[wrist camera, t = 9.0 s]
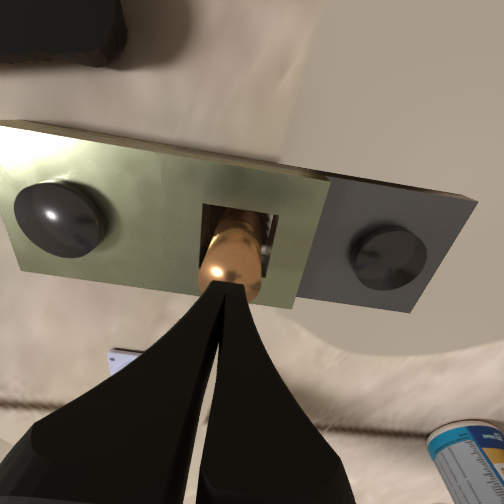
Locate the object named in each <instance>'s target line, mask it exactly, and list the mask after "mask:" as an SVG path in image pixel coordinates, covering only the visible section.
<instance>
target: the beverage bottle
mask: <svg viewBox="0 0 504 504" xmlns="http://www.w3.org/2000/svg"><path fill="white" fill-rule="evenodd" d="M426 446H427V450H428V452H429V454H430V456H431V458H432V459H433V461H434V463H435V465H436V467H437V469H438V471H439V473H440V475H441V477H442V479H443V481H444V483H445V485H446V487H447V489H448V491H449V493H450V495H451V497H452V499H453V501H454V503H455V504H504V435H503V434H502V433H501V431H500V430H499V429H498V428H496V427H495V426H493V425H491V424H489V423H486V422H482V421H460V422H455V423H451V424H448V425H445V426H442V427H440V428H438V429H437V430H435V431H434V432H433V433H431V434H430V436H429V437H428V439H427V442H426Z"/></svg>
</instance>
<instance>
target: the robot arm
mask: <svg viewBox="0 0 504 504" xmlns="http://www.w3.org/2000/svg"><path fill="white" fill-rule="evenodd" d="M218 344H219V351H218V363H217V376H216V383H215V388H214V394H213V399H212V405H211V410H210V416H209V421H208V427H207V432H206V438H205V443H204V448H203V454H202V459H201V464H200V471H199V479H198V487H197V496H196V504H356V502H355V499H354V495H353V492H352V489H351V486H350V483H349V480H348V477H347V474H346V472H345V469H344V466H343V464H342V461H341V459H340V457H339V456H338V455H337V454H336V452H335V451H334V450H333V449H332V448H331V446H330V445H329V444H328V443H327V441H326V440H325V439H324V438H323V436H322V435H321V434H320V433H319V431H318V430H317V429H316V427H315V426H314V425H313V424H312V422H311V421H310V419H309V418H308V417H307V415H306V414H305V413H304V411H303V410H302V408H301V407H300V406H299V404H298V403H297V401H296V400H295V398H294V397H293V395H292V394H291V392H290V391H289V389H288V388H287V386H286V384H285V383H284V381H283V380H282V378H281V377H280V375H279V373H278V371H277V370H276V368H275V366H274V365H273V363H272V361H271V359H270V357H269V355H268V353H267V351H266V349H265V347H264V345H263V343H262V341H261V338H260V336H259V334H258V331H257V329H256V326H255V324H254V321H253V318H252V315H251V312H250V309H249V305H248V302H247V298H246V292H245V286H244V285H243V284H238V283H231V282H224V281H218V280H213V281H211V282H210V283H209V285H208V287H207V288H206V290H205V291H204V292H203V294H202V295H201V296H200V298H199V299H198V300H197V301H196V302H195V304H194V305H193V306H192V307H191V308H190V309H189V311H188V312H187V313H186V314H185V315H184V316H183V317H182V318H181V319H180V320H179V321H178V322H177V323H176V324H175V325H174V326H173V327H172V328H171V329H170V330H169V331H168V332H167V333H166V334H165V335H164V336H162V337H161V338H160V339H159V340H158V341H157V342H156V343H154V344H153V345H152V346H151V347H150V348H148V349H147V350H146V351H145V352H143V353H136V352H128V351H120V350H109V351H108V353H107V358H108V364H109V369H110V374H111V376H110V377H109V378H107V379H106V380H104V381H103V382H101V383H100V384H99V385H97V386H96V387H94V388H93V389H91V390H89V391H88V392H86V393H85V394H83V395H81V396H80V397H78V398H76V399H75V400H73V401H71V402H70V403H68V404H66V405H64V406H63V407H61V408H59V409H58V410H56V411H54V412H53V413H51V414H49V415H47V416H46V417H44V418H42V419H41V420H39V421H37V422H35V423H34V424H33V425H32V426H31V427H30V429H29V430H28V431H27V432H26V433H25V434H24V436H23V437H22V438H21V439H20V440H19V441H18V442H17V443H16V444H15V446H14V447H13V448H12V449H11V451H10V452H9V453H8V454H7V455H6V457H5V458H4V459H3V461H2V462H1V463H0V504H183V500H184V495H185V490H186V484H187V479H188V474H189V468H190V463H191V458H192V453H193V447H194V442H195V437H196V432H197V427H198V422H199V416H200V411H201V406H202V402H203V398H204V394H205V390H206V387H207V383H208V380H209V376H210V372H211V369H212V365H213V362H214V358H215V355H216V351H217V348H218Z"/></svg>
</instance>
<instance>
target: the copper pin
mask: <svg viewBox="0 0 504 504" xmlns="http://www.w3.org/2000/svg"><path fill="white" fill-rule="evenodd" d="M213 280H218V281H224V282H231V283H238V284H243V285H244V286H245V292H246V298H247V302H248V303H250V302H251V301H253V300H254V299H255V298H256V297H257V295H258V294H259V292H260V289H261V220H260V218H259V216H258V214H257V213H256V212H255V211H249V210H243V209H236V208H228V209H226V210H225V211H224V212H223V214H222V215H221V218H220V220H219V223H218V225H217V228H216V230H215V233H214V235H213V238H212V240H211V243H210V246H209V248H208V251H207V253H206V256H205V258H204V261H203V263H202V266H201V268H200V271H199V274H198V286H199V288H200V291H201V292H202V294H203V292H204V291H205V290H206V288H207V287H208V285H209V283H210V282H211V281H213Z"/></svg>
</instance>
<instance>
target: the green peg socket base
mask: <svg viewBox="0 0 504 504" xmlns="http://www.w3.org/2000/svg"><path fill="white" fill-rule="evenodd" d="M477 203H478V201H475V200H473V199H470V198H468V197H466V196H463V195H459V194H454V193H448V192H442V191H436V190H430V189H424V188H418V187H413V186H406V185H400V184H395V183H388V182H383V181H377V180H372V179H366V178H360V177H354V176H348V175H342V174H336V173H330V172H325V171H319V170H313V169H307V168H301V167H295V166H289V165H283V164H277V163H272V162H266V161H260V160H254V159H248V158H242V157H236V156H230V155H224V154H219V153H213V152H207V151H201V150H195V149H189V148H183V147H177V146H172V145H166V144H160V143H154V142H148V141H142V140H136V139H130V138H124V137H119V136H113V135H107V134H101V133H95V132H89V131H83V130H77V129H72V128H66V127H60V126H54V125H48V124H42V123H36V122H30V121H24V120H0V213H1V216H2V218H3V221H4V224H5V227H6V230H7V233H8V235H9V238H10V241H11V244H12V247H13V250H14V252H15V255H16V258H17V261H18V264H19V267H20V270H21V271H26V272H33V273H40V274H47V275H54V276H61V277H68V278H75V279H82V280H89V281H96V282H103V283H110V284H117V285H124V286H131V287H138V288H145V289H152V290H159V291H166V292H173V293H180V294H187V295H194V296H201V295H202V292H201V291H200V288H199V286H198V274H199V271H200V268H201V266H202V263H203V261H204V258H205V256H206V253H207V251H208V248H209V247H207V244H208V231H209V219H210V206H211V205H218V206H224V207H230V208H236V209H243V210H249V211H255V212H261V213H268V214H273V219H272V224H271V229H270V234H269V238H268V243H267V248H266V253H265V255H261V289H260V292H259V294H258V295H257V297H256V298H255V299H254V300H253V301H251V302H250V304H257V305H265V306H272V307H279V308H286V309H292V307H293V303H294V300H295V297H301V298H308V299H315V300H322V301H329V302H336V303H343V304H350V305H357V306H363V307H371V308H377V309H384V310H391V311H398V312H404V313H410V312H411V311H412V309H413V307H414V306H415V304H416V303H417V301H418V299H419V298H420V296H421V295H422V293H423V291H424V290H425V288H426V286H427V285H428V283H429V282H430V280H431V278H432V277H433V275H434V273H435V272H436V270H437V269H438V267H439V265H440V264H441V262H442V260H443V259H444V257H445V256H446V254H447V252H448V251H449V249H450V247H451V246H452V244H453V243H454V241H455V239H456V238H457V236H458V234H459V233H460V231H461V229H462V228H463V226H464V225H465V223H466V221H467V220H468V218H469V217H470V215H471V213H472V212H473V210H474V208H475V207H476V205H477Z"/></svg>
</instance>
